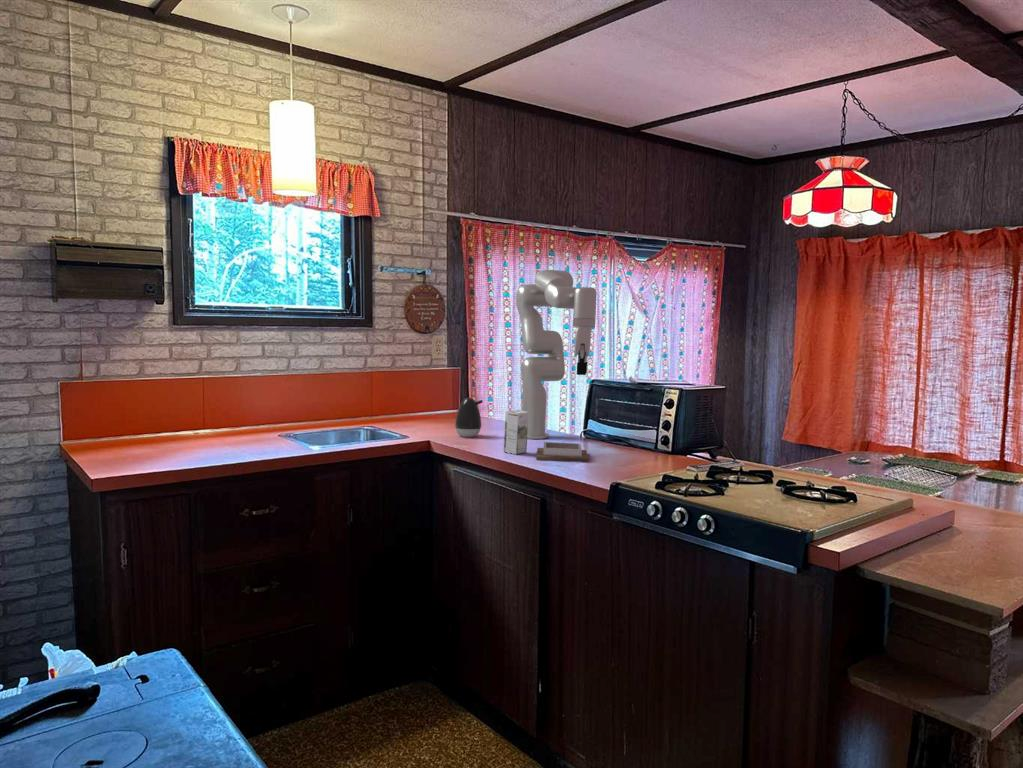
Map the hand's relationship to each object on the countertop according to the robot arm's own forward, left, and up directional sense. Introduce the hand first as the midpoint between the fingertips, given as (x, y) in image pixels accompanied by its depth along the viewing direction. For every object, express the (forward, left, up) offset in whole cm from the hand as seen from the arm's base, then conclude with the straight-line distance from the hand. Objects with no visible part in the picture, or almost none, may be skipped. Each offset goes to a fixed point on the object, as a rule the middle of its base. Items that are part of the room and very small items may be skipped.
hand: (581, 373), depth 254 cm
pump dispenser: (-30, -42, -28) cm, 58 cm away
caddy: (+5, -6, -28) cm, 29 cm away
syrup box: (+2, -22, -28) cm, 36 cm away
